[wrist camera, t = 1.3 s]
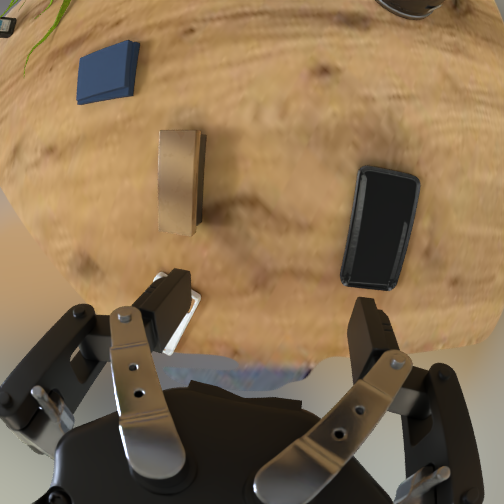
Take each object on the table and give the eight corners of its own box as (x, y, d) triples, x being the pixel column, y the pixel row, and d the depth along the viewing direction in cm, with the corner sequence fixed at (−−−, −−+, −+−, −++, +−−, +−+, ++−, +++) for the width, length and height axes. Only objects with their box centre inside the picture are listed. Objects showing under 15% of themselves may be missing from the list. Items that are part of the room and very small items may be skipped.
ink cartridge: (12, 34, 24) (-12, 33, 17) (8, 38, 24) (-16, 37, 17) (17, 18, 22) (-7, 15, 15) (12, 22, 22) (-11, 20, 15)
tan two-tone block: (175, 130, 30) (159, 130, 27) (208, 130, 30) (196, 130, 26) (172, 221, 35) (158, 231, 31) (203, 225, 34) (191, 236, 31)
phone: (339, 285, 33) (360, 164, 27) (338, 281, 34) (358, 163, 28) (395, 291, 32) (422, 177, 26) (392, 287, 33) (419, 176, 27)
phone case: (160, 269, 38) (138, 330, 45) (155, 274, 37) (135, 335, 44) (203, 295, 39) (173, 352, 45) (199, 300, 38) (170, 357, 44)
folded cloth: (88, 57, 27) (78, 55, 25) (140, 42, 26) (131, 38, 24) (82, 104, 30) (72, 104, 28) (133, 96, 29) (123, 94, 27)
